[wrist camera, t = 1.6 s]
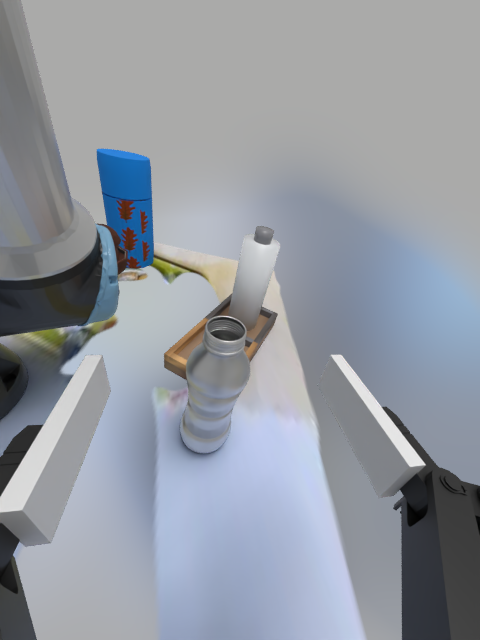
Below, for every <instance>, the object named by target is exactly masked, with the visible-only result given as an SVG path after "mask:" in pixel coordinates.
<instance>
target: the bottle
mask: <svg viewBox="0 0 480 640" xmlns="http://www.w3.org/2000/svg"><path fill="white" fill-rule="evenodd" d="M273 234H274V231H273V230H272V229H270V228H268V227H264V226H258V227H256V232H255V234H248V235H245V236H244V240H243V244H242V249H241V254H240V259H239V264H238V269H237V273H236V278H235V283H234V288H233V293H232V298H231V303H230V308H229V312H228V316H230V317H233V318H236V319H238V320H239V321H241V322H242V323H243V324H244V325H245V327H246V330H247V331H251V330H253V329H254V328H255V326H256V323H257V320H258V317H259V313H260V310H261V307H262V304H263V301H264V297H265V294H266V291H267V288H268V284H269V281H270V278H271V275H272V271H273V268H274V265H275V262H276V258H277V255H278V252H279V249H280V244H279V242H277V241H276V240H274V239H272V237H273Z"/></svg>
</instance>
